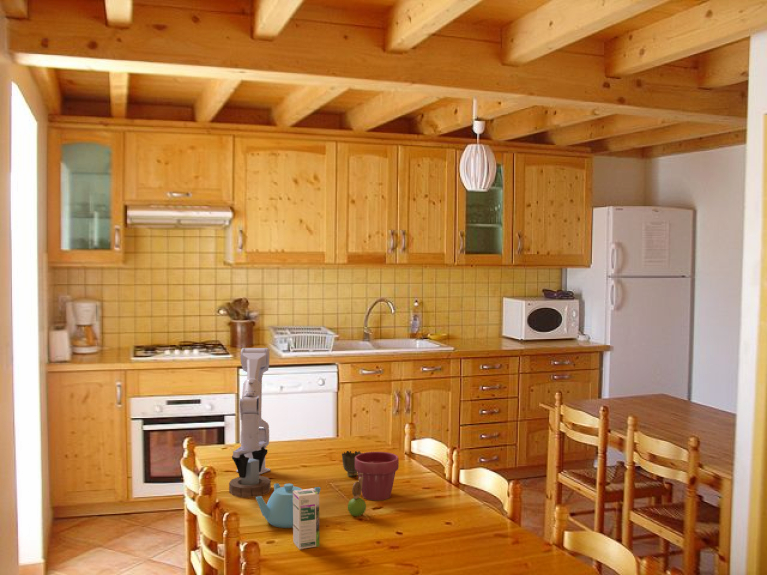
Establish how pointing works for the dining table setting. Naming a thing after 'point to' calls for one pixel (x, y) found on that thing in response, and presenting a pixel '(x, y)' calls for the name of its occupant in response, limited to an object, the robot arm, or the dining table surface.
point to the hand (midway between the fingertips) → (250, 474)
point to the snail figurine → (357, 499)
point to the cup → (350, 463)
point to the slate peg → (251, 473)
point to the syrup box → (306, 518)
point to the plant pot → (377, 473)
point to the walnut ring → (250, 487)
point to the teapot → (280, 505)
